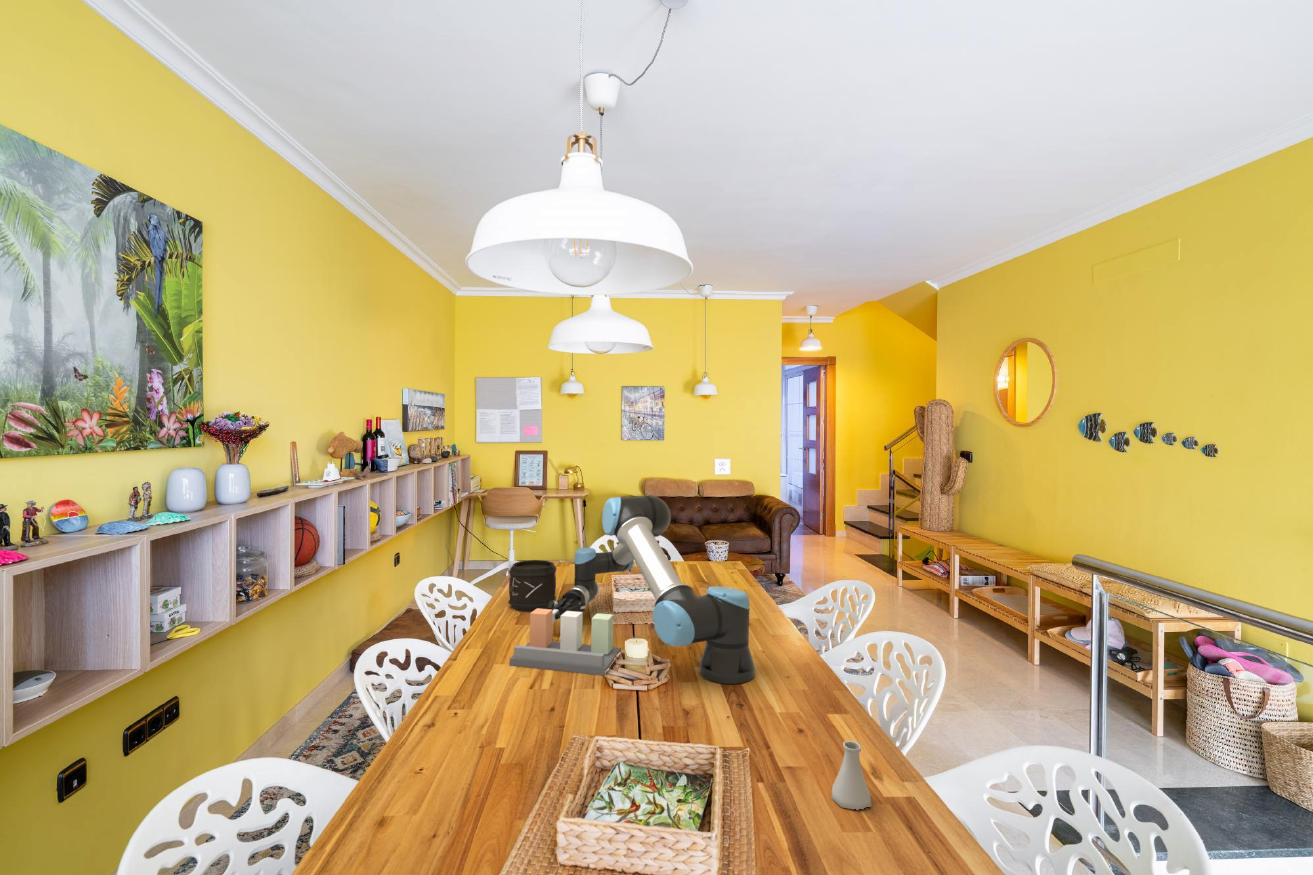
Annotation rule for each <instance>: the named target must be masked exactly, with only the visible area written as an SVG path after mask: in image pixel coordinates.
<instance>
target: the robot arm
mask: <svg viewBox="0 0 1313 875" xmlns="http://www.w3.org/2000/svg"><path fill="white" fill-rule="evenodd" d="M671 518H672V515H671V511H670V507H669V506H668V504H667V503H666V502H665V501H664V500H663V499H662V498H660V497H658V496H654V495H641V496H639V495H638V496H637V495H636V496H632V495H631V496H617V497H616V496H615V497H610V498H608V499H607V500H606V501H605V503H604V506H603V509H602V518H601V519H602V520H601V521H602V522H601V523H602V528H603V532H604V533H605V535H607V536H610V537H613V536H615V538H616V539H617V541H618V544H617V545H616V546H615V547H614V549H612V551H604V552H596V551H597V550H596V549H595V548H593V547H579V548H578V549H576V550H575V553H574V561H573V562H574V581H573V582H574V583H573V584H574V586H573V587H571V588H570V589H569V590H568V591H566V592H565V593H564V594H562V597H561V599H558V600H557V601H556V600H555V601H553V600H550V604H549V606H548V608H547V609H551V610H553V621H552V624H553V623H554V622H556V621H557V620H561V615H562V614H563V613H565V612H566V611H575V612H585V611H586V605H588V604H589V603H590V602H591V601H594V599H595V598H596V596H598V593H599V585H598V583H597V582H596V575H598V574H609V573H618V572H619V573H620V572H626V571H630V570H632V569H633V566H634V563H635V564H636V565H637V568H638V569H639V572H640V573H641V575H642V577H643V579H644V581H645V583H646V584H647V586H648V588H649V590H650V592H651V594H652V596H653V597H654V599H655V602H654V608H653V611H652V623H653V624H654V625H653V627H654V630H655V633H656V634H657V636H658V638H659V639H660V640H661V642H663V643H664V644H665V645H667V646H669V647H687V646H689V645H690V644H691V645H693V644H697V643H701V642H705V647H704V649H703V653H702V655H701V658H700V661H699V670H698V671H699V674H700V676H702V678H704V679H706V680H708V681H711V682H714V683H719V684H726V685H735V684H737V685H738V684H743V683H747V682H749V681H752V680H753V679H754V678H755V674H756V673H755V672H756V669H755V663H754V660H753V657H752V654H751V651H750V647H749V645H750V644H749V641H750V640H749V638H750V636H749V635H750V631H749V630H750V610H751V608H750V597H749V596H748V593H746V592H744V591H743V590H740V589H737V588H736V589H735V588H732V587H727V586H709V587H708V588H707V589H706V594H705V595H697V594H696V593H695V591H694V590H693V588H692V587H691V586H690V585H689V584H685V583H683V582H682V581H681V579H680V577H679V576H678V573H677V572H676V570H675V569H674V567H673V566H672V563H671V562H670V561H669V559H668V557H667V555H666V554H665V551H664V550H663V549H662V547H661V545H660V544H659V542H658V541H657V538H658V537H660V536H661V535H662V534H664V533H665V532H666V530H667V529H668V527H669V526H670V523H671Z"/></svg>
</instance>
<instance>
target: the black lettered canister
mask: <svg viewBox="0 0 1313 875" xmlns="http://www.w3.org/2000/svg"><path fill="white" fill-rule="evenodd" d="M508 574H509V582H508V583H509V584H508V594H509V595H508V596H509V600H508V604H509V605H510V608H511V609H512V608H513V609H512V610H514V609H515V610H514V611H517V612H524V613H525V612H527V613H531V612H533V611H534V610H536V609H537V608H539V609H547V608H548V606H549V604H550V600H553V601H555V602H556V599H557V596H556V590H557V577H556V574H557V566H555V563H554V562H552V561H549V560H542V559H531V560H528V559H527V560H521V561H517V562H514V563H512V566H511V567H510V569H509V571H508Z"/></svg>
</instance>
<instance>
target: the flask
mask: <svg viewBox="0 0 1313 875" xmlns="http://www.w3.org/2000/svg"><path fill="white" fill-rule="evenodd" d="M842 744H843V746H842V747H843V749H844V755H843V759H842V762H841V765H840V769H839V771H838V773H837V776H836V778H835V781H834V782H833V785H832V787H831V797H832V798H831V799H832V800H833V801H834V802H835V803H836V804H837V805H838V806H840V808H845V809H848V810H854V809H856V810H855V811H860V810H859V809H862V810H865V809H864V808H865V807H870V808H872V807H871V806H872V797H871V794H870V791H869V788H868V786H867V782H866V778H865V776H864V772H863V770H862V766H861V761H860V752H861V750H862V745H861V744H860V743H859V742H857V741H854V740H846V741H843V743H842Z"/></svg>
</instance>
